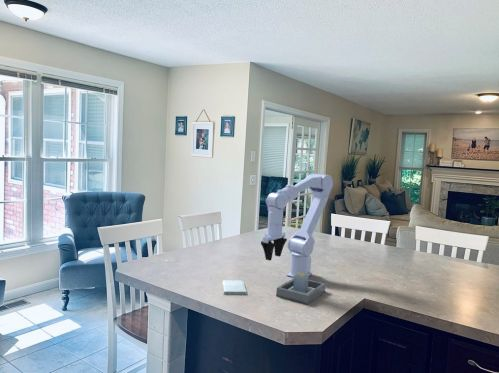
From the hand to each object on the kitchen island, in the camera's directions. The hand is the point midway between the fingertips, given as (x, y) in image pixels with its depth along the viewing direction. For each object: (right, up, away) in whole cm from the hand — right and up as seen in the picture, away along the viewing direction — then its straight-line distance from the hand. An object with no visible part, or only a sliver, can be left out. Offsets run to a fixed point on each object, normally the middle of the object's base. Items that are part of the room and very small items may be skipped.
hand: (273, 257), depth 152 cm
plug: (+9, -10, -11) cm, 18 cm away
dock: (+9, -11, -11) cm, 18 cm away
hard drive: (-15, -10, -9) cm, 20 cm away
